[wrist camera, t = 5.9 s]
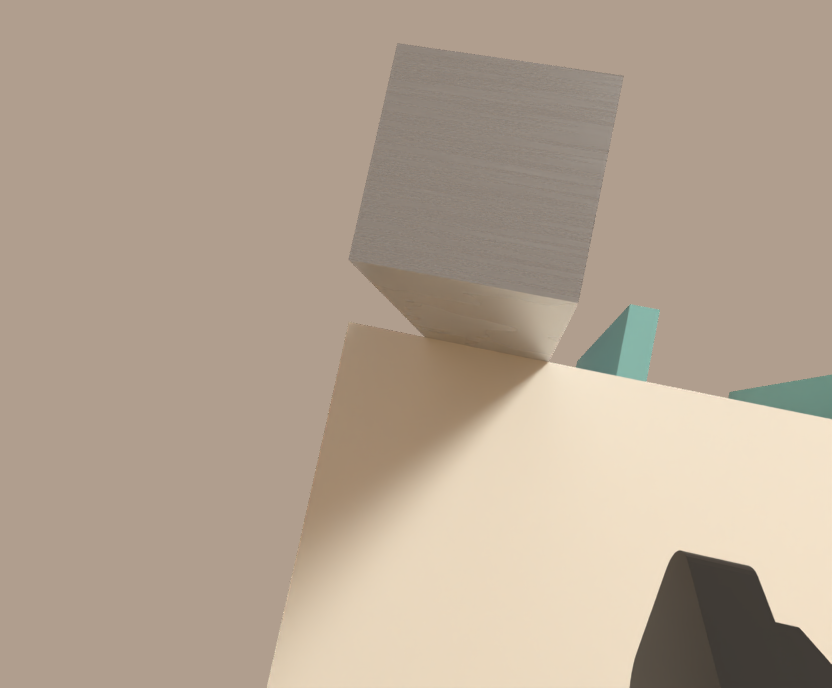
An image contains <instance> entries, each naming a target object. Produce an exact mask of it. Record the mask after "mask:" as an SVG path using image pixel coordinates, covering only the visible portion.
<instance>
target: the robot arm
mask: <svg viewBox="0 0 832 688" xmlns="http://www.w3.org/2000/svg"><path fill="white" fill-rule="evenodd" d="M630 688H832V664H831V663H830V662H829V661H828V659H827V658H826V657H825V656H824V655H823V654H822V653H821V651H820V650H819V649H818V648H817V647H816V646H815V645H814V643H813V642H812V641H811V640H810V639H809V638H808V637H807V636H806V634H805V633H804V632H803V631H802V630H801V629H800V628H799V627H795V626H791V625H787V624H782V623H778V622H775V619H774V617H773V614H772V612H771V609H770V606H769V604H768V601H767V599H766V596H765V593H764V591H763V588H762V586H761V583H760V580H759V578H758V575H757V573H756V571H755V570H754V569H753V568H752V567H751V566H748V565H744V564H739V563H735V562H730V561H726V560H721V559H717V558H712V557H708V556H703V555H699V554H694V553H690V552H685V551H681V550H679V551H676V552H675V553H674V554H673V556H672V557H671V559H670V561H669V563H668V566H667V568H666V571H665V574H664V577H663V579H662V582H661V585H660V588H659V591H658V594H657V596H656V599H655V602H654V605H653V608H652V610H651V613H650V616H649V619H648V622H647V625H646V627H645V630H644V633H643V636H642V639H641V642H640V644H639V647H638V650H637V653H636V656H635V659H634V663H633V668H632V673H631V679H630Z"/></svg>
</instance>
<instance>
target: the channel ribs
mask: <svg viewBox="0 0 832 688" xmlns="http://www.w3.org/2000/svg"><path fill="white" fill-rule="evenodd" d="M659 312H660V310H657V309H652V308H647V307H641V306H636V305H631V304H630V305H629V306H628V307H627V308H626V309H625V310H624V312H623V313H622V314H621V315H620V316H619V317H618V318H617V319H616V320H615V321H614V322H613V324H612V325H611V326H610V327H609V328H608V329H607V330H606V331H605V332H604V333H603V334H602V335H601V336H600V337H599V339H598V340H597V341H596V342H595V343H594V344H593V345H592V346H591V347H590V348H589V349H588V350H587V351H586V353H585V354H584V355H583V356H582V357H581V358H580V359H579V360H578V361H577V366H576V368H580V369H585V370H590V371H595V372H600V373H605V374H610V375H615V376H620V377H625V378H630V379H635V380H640V381H645V382H646V380H647V375H648V369H649V364H650V359H651V354H652V349H653V343H654V337H655V333H656V328H657V322H658V317H659ZM729 399H734V400H739V401H744V402H749V403H754V404H759V405H764V406H768V407H773V408H778V409H783V410H788V411H793V412H798V413H803V414H808V415H813V416H818V417H823V418H828V419H832V375H827V376H821V377H816V378H810V379H803V380H798V381H792V382H786V383H780V384H774V385H768V386H762V387H756V388H751V389H745V390H739V391H733V392H730V393H729Z"/></svg>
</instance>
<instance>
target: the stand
mask: <svg viewBox="0 0 832 688" xmlns="http://www.w3.org/2000/svg"><path fill="white" fill-rule="evenodd" d="M679 550H681V551H685V552H690V553H694V554H699V555H703V556H708V557H712V558H717V559H721V560H726V561H730V562H735V563H739V564H744V565H748V566H751V567H752V568H753V569H754V570H755V571H756V573H757V575H758V578H759V580H760V583H761V586H762V588H763V591H764V593H765V596H766V599H767V601H768V604H769V606H770V609H771V612H772V614H773V617H774V619H775V622H778V623H782V624H787V625H791V626H795V627H799V628H800V629H801V630H802V631H803V632H804V633H805V634H806V636H807V637H808V638H809V639H810V640H811V641H812V642H813V643H814V645H815V646H816V647H817V648H818V649H819V650H820V651H821V653H822V654H823V655H824V656H825V657H826V658H827V659H828V661H829V662H830V663H831V664H832V419H828V418H823V417H818V416H813V415H808V414H803V413H798V412H793V411H788V410H783V409H778V408H773V407H768V406H764V405H759V404H754V403H749V402H744V401H739V400H734V399H729V398H724V397H719V396H714V395H709V394H704V393H699V392H694V391H689V390H684V389H679V388H674V387H669V386H664V385H659V384H654V383H650V382H645V381H640V380H635V379H630V378H625V377H620V376H615V375H610V374H605V373H600V372H595V371H590V370H585V369H580V368H575V367H570V366H565V365H560V364H555V363H550V362H545V361H541V360H536V359H531V358H526V357H521V356H516V355H511V354H506V353H501V352H496V351H491V350H486V349H481V348H476V347H471V346H466V345H461V344H456V343H451V342H446V341H441V340H437V339H432V338H427V337H422V336H416V335H411V334H407V333H402V332H397V331H392V330H387V329H382V328H377V327H372V326H366V325H362V324H357V323H352V322H349V324H348V328H347V332H346V337H345V341H344V346H343V351H342V355H341V359H340V364H339V368H338V373H337V377H336V381H335V386H334V390H333V395H332V399H331V404H330V408H329V413H328V418H327V422H326V426H325V431H324V435H323V440H322V444H321V449H320V453H319V457H318V462H317V466H316V471H315V476H314V480H313V484H312V489H311V493H310V498H309V502H308V506H307V511H306V515H305V520H304V524H303V529H302V533H301V538H300V542H299V547H298V551H297V555H296V560H295V565H294V569H293V573H292V578H291V582H290V587H289V592H288V596H287V600H286V605H285V609H284V613H283V618H282V623H281V627H280V631H279V636H278V641H277V645H276V649H275V654H274V658H273V663H272V667H271V671H270V676H269V681H268V685H267V688H630V679H631V673H632V668H633V663H634V659H635V656H636V653H637V650H638V647H639V644H640V642H641V639H642V636H643V633H644V630H645V627H646V625H647V622H648V619H649V616H650V613H651V610H652V608H653V605H654V602H655V599H656V596H657V594H658V591H659V588H660V585H661V582H662V579H663V577H664V574H665V571H666V568H667V566H668V563H669V561H670V559H671V557H672V556H673V554H674V553H675V552H676V551H679Z"/></svg>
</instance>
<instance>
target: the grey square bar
mask: <svg viewBox="0 0 832 688" xmlns="http://www.w3.org/2000/svg"><path fill="white" fill-rule="evenodd" d="M622 81H623V76H621V75H614V74H607V73H599V72H593V71H585V70H579V69H572V68H566V67H558V66H552V65H544V64H538V63H531V62H524V61H517V60H510V59H503V58H496V57H489V56H481V55H475V54H468V53H461V52H454V51H447V50H440V49H432V48H426V47H419V46H412V45H405V44H397V48H396V52H395V56H394V61H393V65H392V70H391V74H390V79H389V83H388V87H387V92H386V96H385V101H384V105H383V110H382V114H381V118H380V123H379V128H378V132H377V136H376V141H375V145H374V150H373V154H372V159H371V163H370V167H369V172H368V176H367V181H366V185H365V189H364V194H363V198H362V203H361V207H360V211H359V216H358V220H357V225H356V229H355V234H354V238H353V243H352V247H351V252H350V256H349V260H350V261H351V262H352V263H353V265H354V266H355V267H356V268H357V269H358V270H359V271H360V272H361V273H362V274H363V275H364V276H365V277H366V278H367V279H368V280H369V281H370V282H371V283H372V284H373V285H374V286H375V287H376V288H377V289H378V290H379V291H380V292H381V293H382V294H383V295H384V296H385V297H386V298H387V299H388V300H389V301H390V302H391V303H392V304H393V305H394V306H395V307H396V308H397V309H398V310H399V311H400V312H401V313H402V314H403V315H404V316H405V317H406V318H407V319H408V320H409V321H410V322H411V323H412V324H413V325H414V326H415V327H416V328H417V329H418V330H419V331H420V333H422V334H423V335H424V337H427V338H432V339H437V340H441V341H446V342H451V343H456V344H461V345H466V346H471V347H476V348H481V349H486V350H491V351H496V352H501V353H506V354H511V355H516V356H521V357H526V358H531V359H536V360H541V361H545V362H549V360H550V358H551V356H552V354H553V352H554V350H555V348H556V346H557V344H558V342H559V340H560V338H561V336H562V334H563V332H564V330H565V328H566V326H567V325H568V323H569V320H570V319H571V317H572V315H573V313H574V311H575V309H576V307H577V305H578V302H579V297H580V292H581V287H582V282H583V277H584V272H585V267H586V262H587V256H588V252H589V247H590V242H591V237H592V231H593V227H594V222H595V217H596V211H597V206H598V202H599V197H600V192H601V187H602V182H603V177H604V172H605V167H606V162H607V157H608V152H609V146H610V142H611V136H612V132H613V127H614V122H615V117H616V112H617V106H618V102H619V96H620V92H621V86H622Z"/></svg>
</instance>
